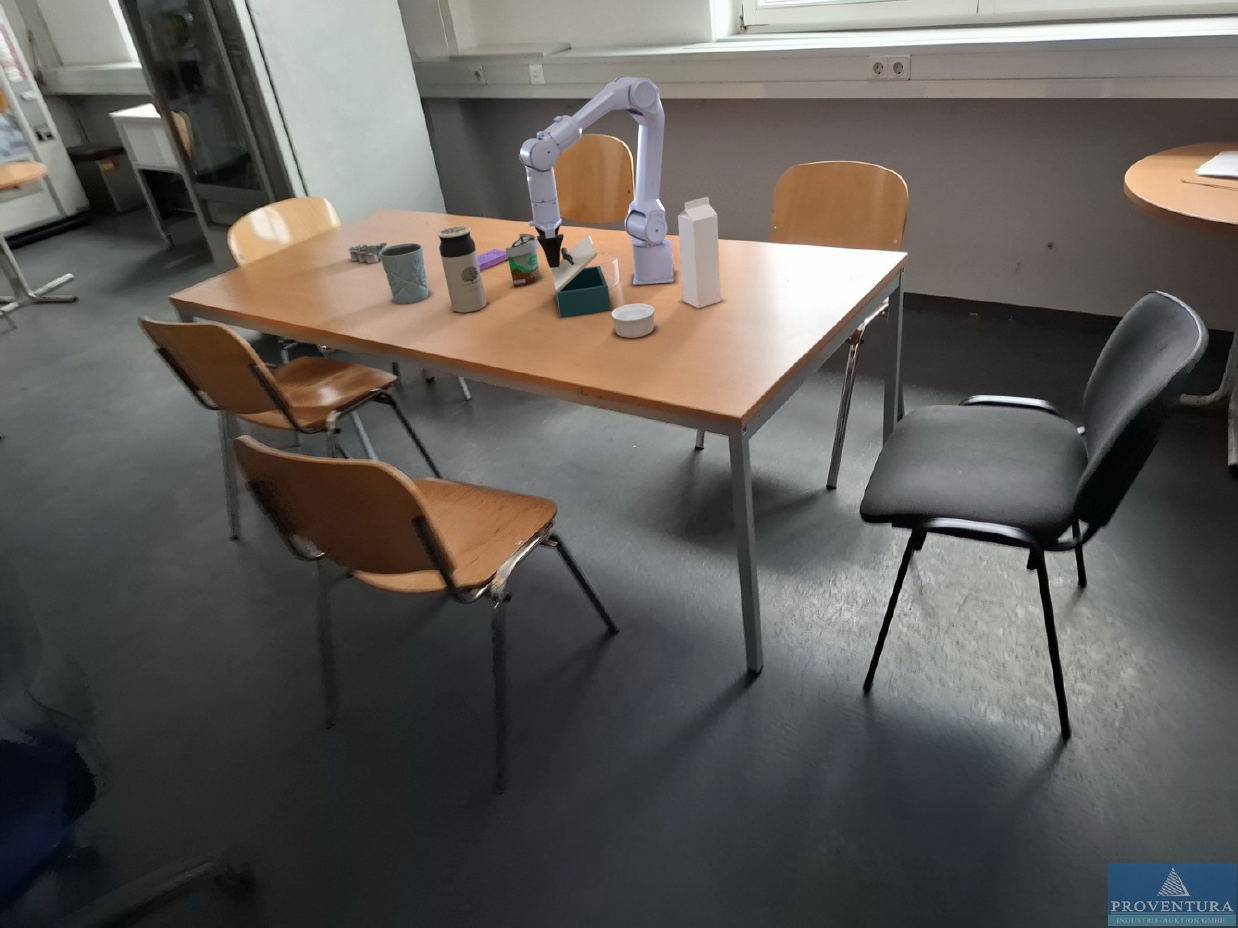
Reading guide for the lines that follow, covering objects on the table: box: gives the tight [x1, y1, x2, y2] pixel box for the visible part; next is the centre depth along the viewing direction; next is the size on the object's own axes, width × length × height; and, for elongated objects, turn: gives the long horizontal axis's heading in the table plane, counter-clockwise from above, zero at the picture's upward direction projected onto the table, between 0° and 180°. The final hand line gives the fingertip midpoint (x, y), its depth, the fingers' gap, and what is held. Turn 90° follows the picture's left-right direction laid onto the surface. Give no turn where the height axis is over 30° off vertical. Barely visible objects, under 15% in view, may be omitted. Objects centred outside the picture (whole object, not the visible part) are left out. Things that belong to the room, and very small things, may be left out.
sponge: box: [477, 248, 508, 271], centre depth 219 cm, size 7×13×2 cm, turn 136°
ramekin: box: [610, 303, 655, 339], centre depth 168 cm, size 9×9×4 cm
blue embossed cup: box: [379, 242, 429, 305], centre depth 199 cm, size 10×10×12 cm
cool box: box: [554, 265, 612, 319], centre depth 185 cm, size 11×15×6 cm
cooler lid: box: [551, 234, 598, 292], centre depth 181 cm, size 12×15×4 cm
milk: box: [677, 196, 722, 309], centre depth 174 cm, size 6×6×22 cm
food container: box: [505, 233, 540, 288], centre depth 201 cm, size 12×6×10 cm, turn 169°
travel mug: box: [436, 225, 487, 314], centre depth 187 cm, size 8×8×18 cm
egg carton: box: [346, 242, 388, 264], centre depth 233 cm, size 11×8×4 cm
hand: (553, 261), depth 181 cm, fingers open, 7 cm apart
